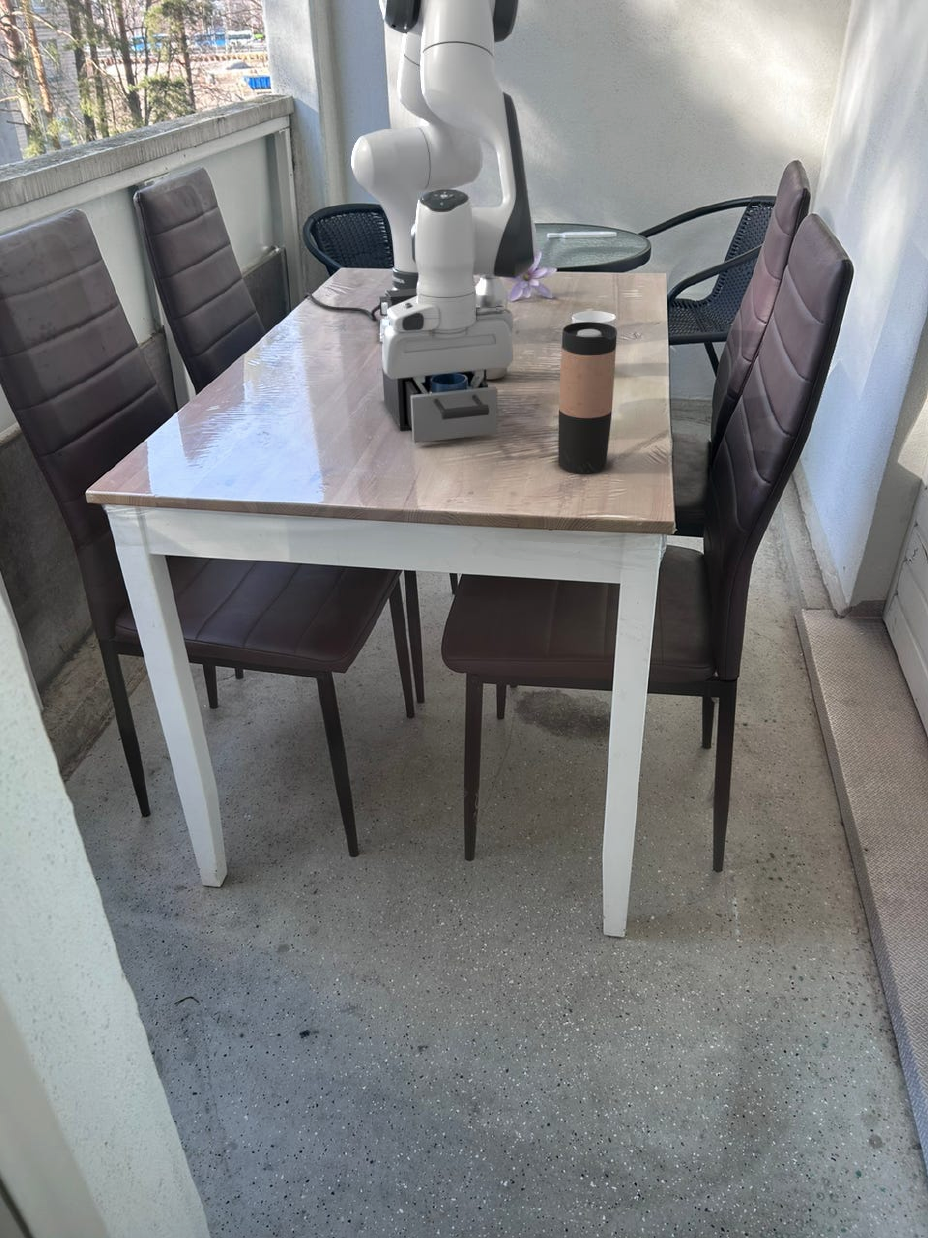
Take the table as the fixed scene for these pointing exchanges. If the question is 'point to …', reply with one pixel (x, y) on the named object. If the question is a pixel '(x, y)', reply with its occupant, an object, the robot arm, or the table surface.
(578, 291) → the table surface
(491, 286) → the silver water bottle
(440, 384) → the blue cup
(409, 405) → the grey drawer
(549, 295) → the water lily
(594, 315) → the white cup
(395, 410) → the dark grey box
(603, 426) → the travel mug
